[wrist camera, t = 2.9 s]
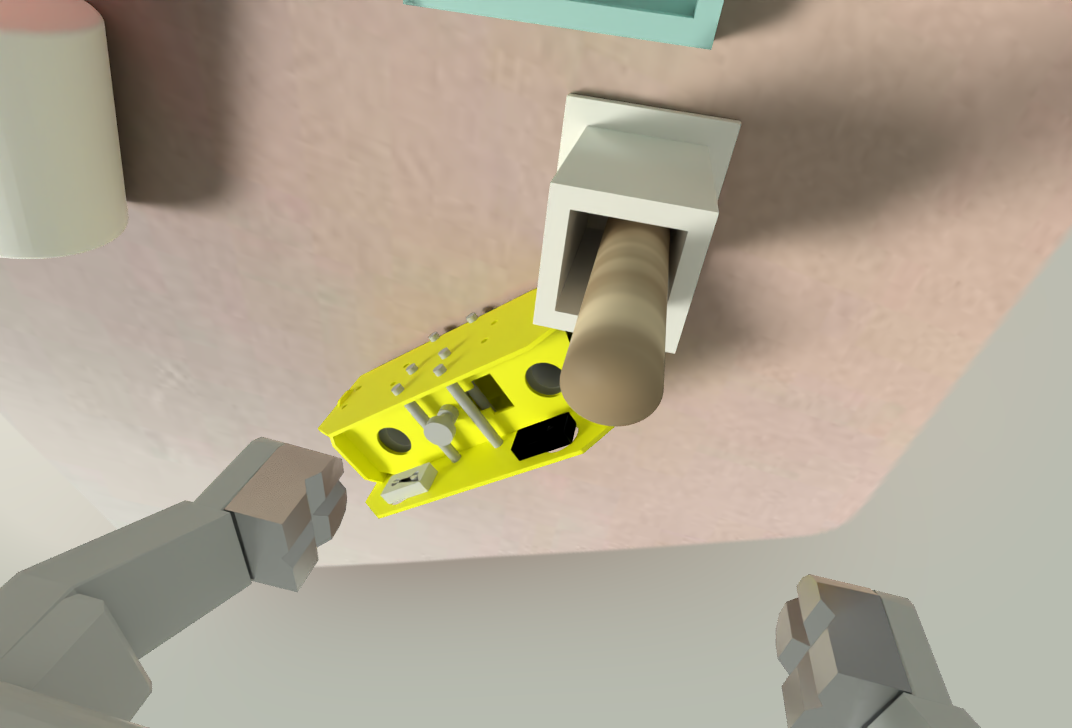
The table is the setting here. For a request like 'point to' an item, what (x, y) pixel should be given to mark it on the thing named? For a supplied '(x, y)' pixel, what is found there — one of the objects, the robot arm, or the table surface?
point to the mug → (57, 132)
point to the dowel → (621, 328)
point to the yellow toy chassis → (461, 411)
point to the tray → (605, 16)
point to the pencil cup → (630, 198)
